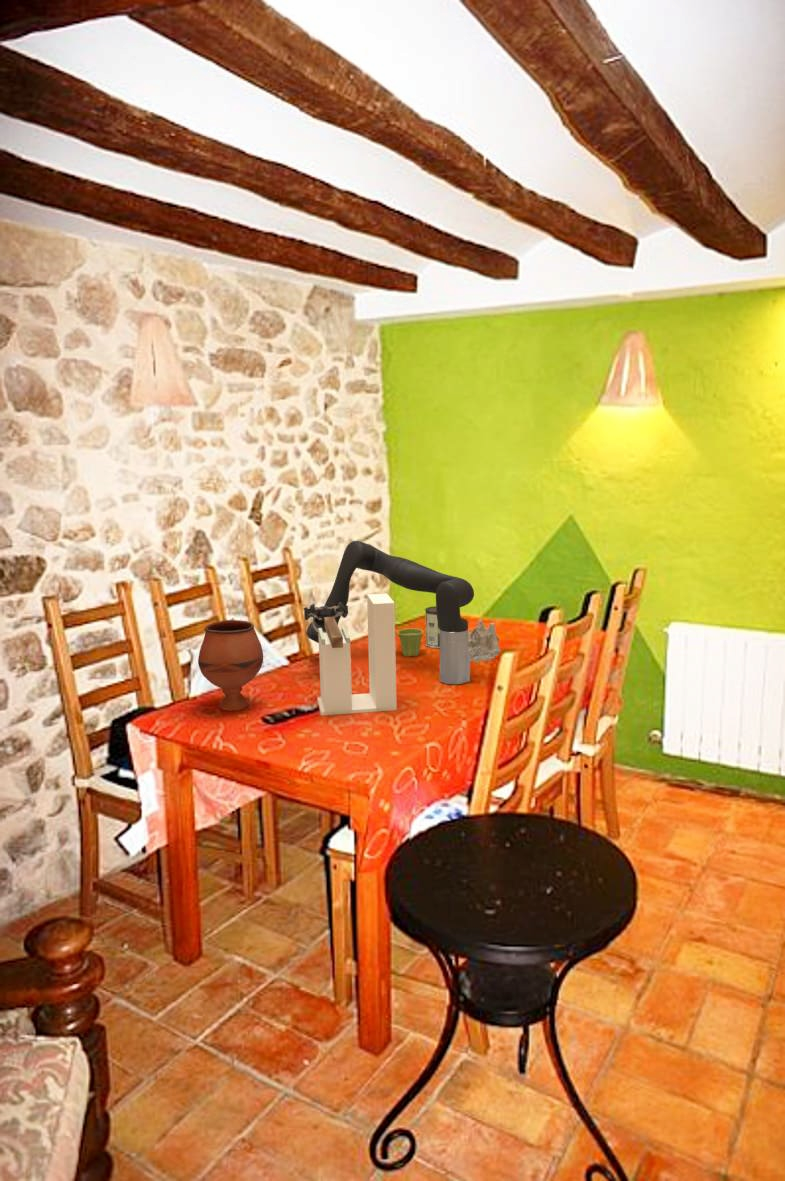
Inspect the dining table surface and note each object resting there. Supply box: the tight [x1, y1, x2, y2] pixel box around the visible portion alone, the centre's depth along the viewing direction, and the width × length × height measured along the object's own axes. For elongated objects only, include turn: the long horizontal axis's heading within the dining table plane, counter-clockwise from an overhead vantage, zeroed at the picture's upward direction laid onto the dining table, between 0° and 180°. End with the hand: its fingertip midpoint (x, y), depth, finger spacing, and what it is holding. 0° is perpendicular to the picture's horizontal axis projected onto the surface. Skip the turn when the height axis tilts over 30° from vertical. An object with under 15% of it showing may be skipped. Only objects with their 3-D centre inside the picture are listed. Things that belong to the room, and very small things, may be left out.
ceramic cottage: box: [468, 619, 502, 663], centre depth 289 cm, size 16×16×15 cm
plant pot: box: [396, 628, 424, 657], centre depth 292 cm, size 9×9×9 cm
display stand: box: [317, 593, 397, 716], centre depth 236 cm, size 22×14×32 cm, turn 99°
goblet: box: [197, 619, 264, 712], centre depth 238 cm, size 19×19×25 cm
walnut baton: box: [324, 617, 343, 648], centre depth 236 cm, size 3×26×3 cm, turn 10°
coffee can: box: [424, 605, 440, 649], centre depth 304 cm, size 10×10×14 cm
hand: (327, 605), depth 255 cm, fingers open, 8 cm apart
